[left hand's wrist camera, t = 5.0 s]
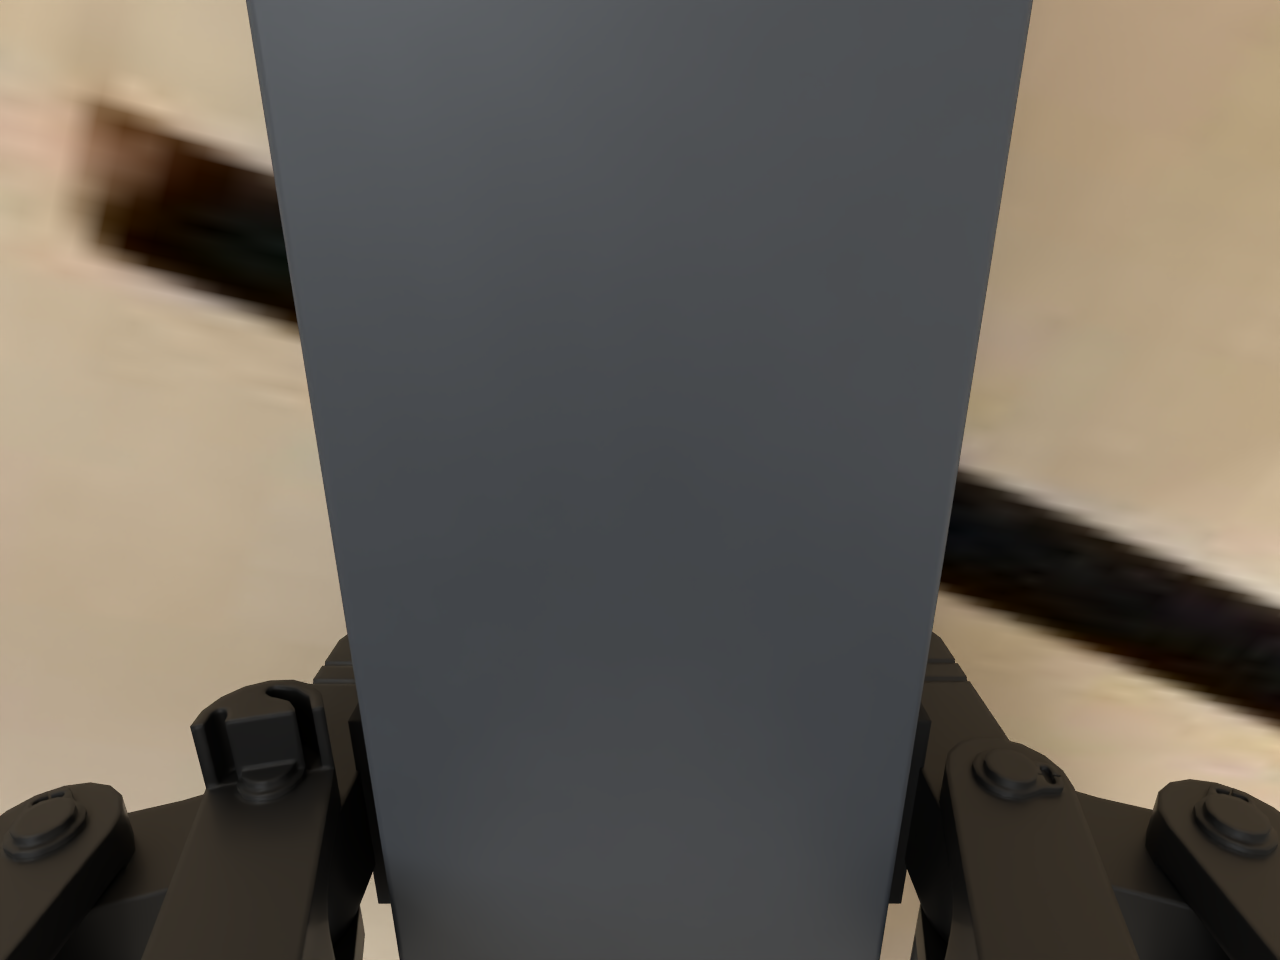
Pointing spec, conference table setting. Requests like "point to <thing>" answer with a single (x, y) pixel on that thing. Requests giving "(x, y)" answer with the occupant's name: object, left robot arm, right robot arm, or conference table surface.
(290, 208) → the beam
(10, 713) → the conference table surface
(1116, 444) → the conference table surface
